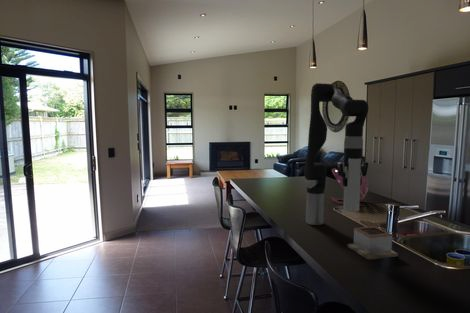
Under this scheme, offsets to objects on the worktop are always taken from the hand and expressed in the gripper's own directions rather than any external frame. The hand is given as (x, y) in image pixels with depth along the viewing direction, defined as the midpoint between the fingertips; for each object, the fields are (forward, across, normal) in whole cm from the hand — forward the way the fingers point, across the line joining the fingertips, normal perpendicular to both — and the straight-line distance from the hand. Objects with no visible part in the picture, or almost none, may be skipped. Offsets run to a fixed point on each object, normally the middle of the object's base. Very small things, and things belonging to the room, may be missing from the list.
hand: (351, 186), depth 134 cm
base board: (+28, -8, +5) cm, 29 cm away
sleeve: (+27, -8, +5) cm, 28 cm away
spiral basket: (+27, -46, -72) cm, 90 cm away
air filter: (+11, 0, 0) cm, 11 cm away
